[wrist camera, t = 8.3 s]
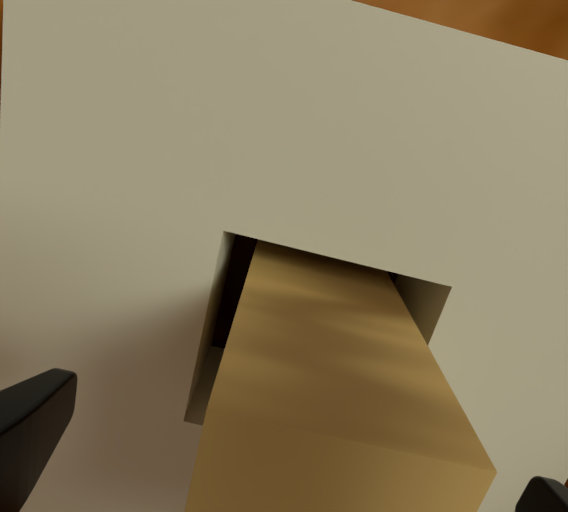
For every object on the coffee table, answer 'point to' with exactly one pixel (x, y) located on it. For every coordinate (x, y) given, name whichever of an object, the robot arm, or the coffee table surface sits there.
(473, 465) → the peg
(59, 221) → the socket block
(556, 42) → the coffee table surface
